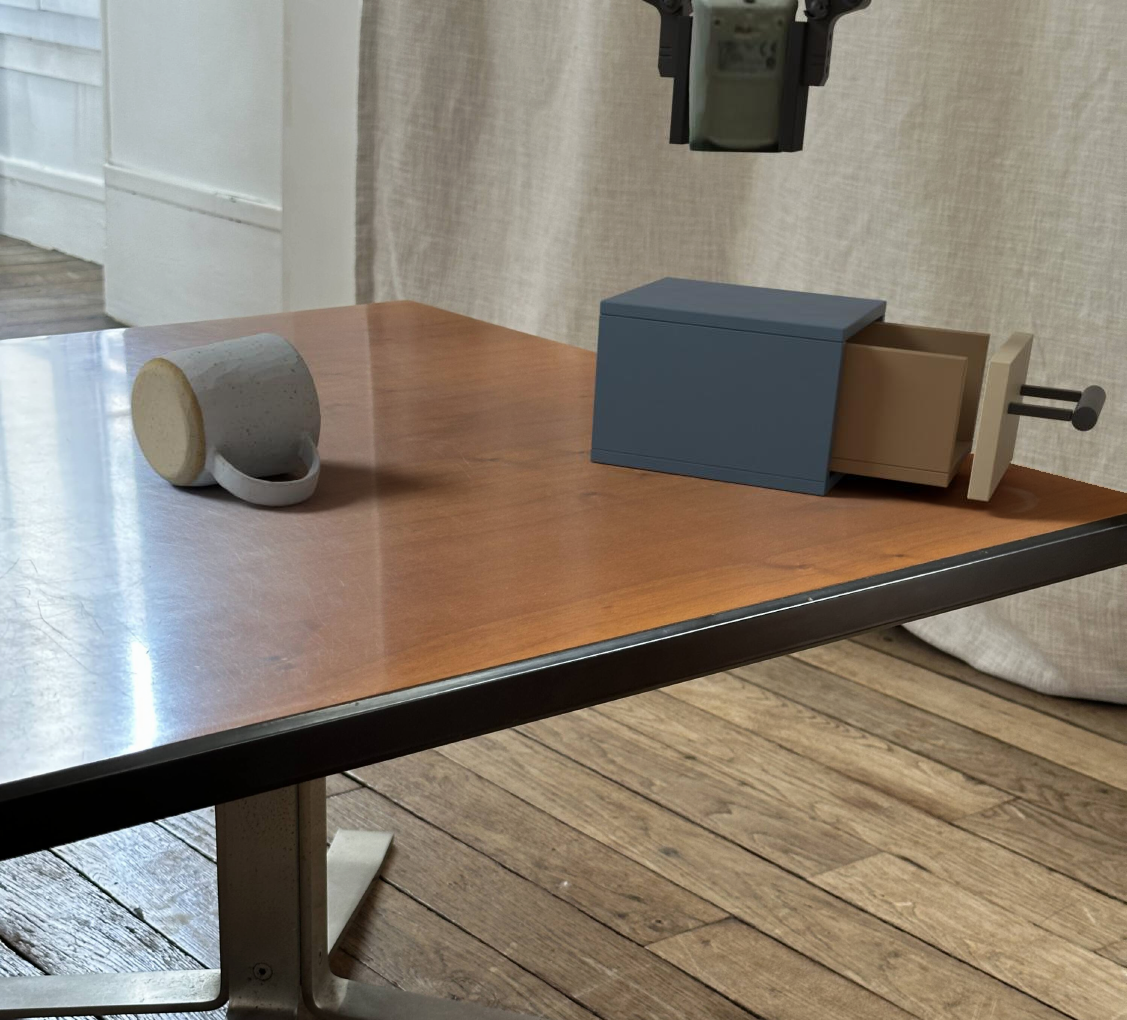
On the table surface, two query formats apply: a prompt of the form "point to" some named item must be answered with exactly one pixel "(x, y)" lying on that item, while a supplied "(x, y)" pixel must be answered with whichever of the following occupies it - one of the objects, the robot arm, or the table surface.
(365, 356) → the table surface
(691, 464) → the cabinet
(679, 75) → the robot arm
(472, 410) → the table surface
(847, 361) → the drawer
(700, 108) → the grey electronic device
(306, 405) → the ceramic mug
